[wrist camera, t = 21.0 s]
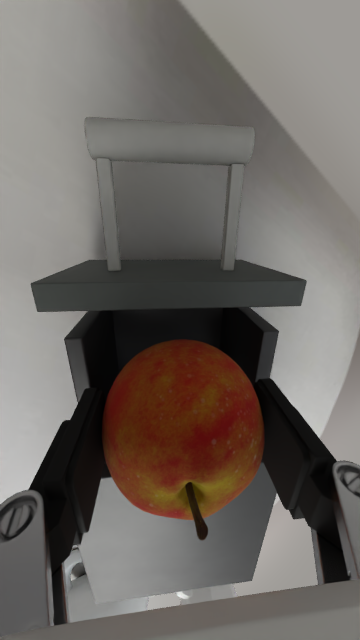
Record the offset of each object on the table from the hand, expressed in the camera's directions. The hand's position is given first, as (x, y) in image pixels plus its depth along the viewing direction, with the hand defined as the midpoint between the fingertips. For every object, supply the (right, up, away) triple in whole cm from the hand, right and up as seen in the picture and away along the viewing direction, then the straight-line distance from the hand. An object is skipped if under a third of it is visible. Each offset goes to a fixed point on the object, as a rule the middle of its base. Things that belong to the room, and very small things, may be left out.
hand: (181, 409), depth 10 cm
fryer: (-1, -7, +13) cm, 15 cm away
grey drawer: (-1, +5, +7) cm, 9 cm away
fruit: (0, +1, +3) cm, 3 cm away
